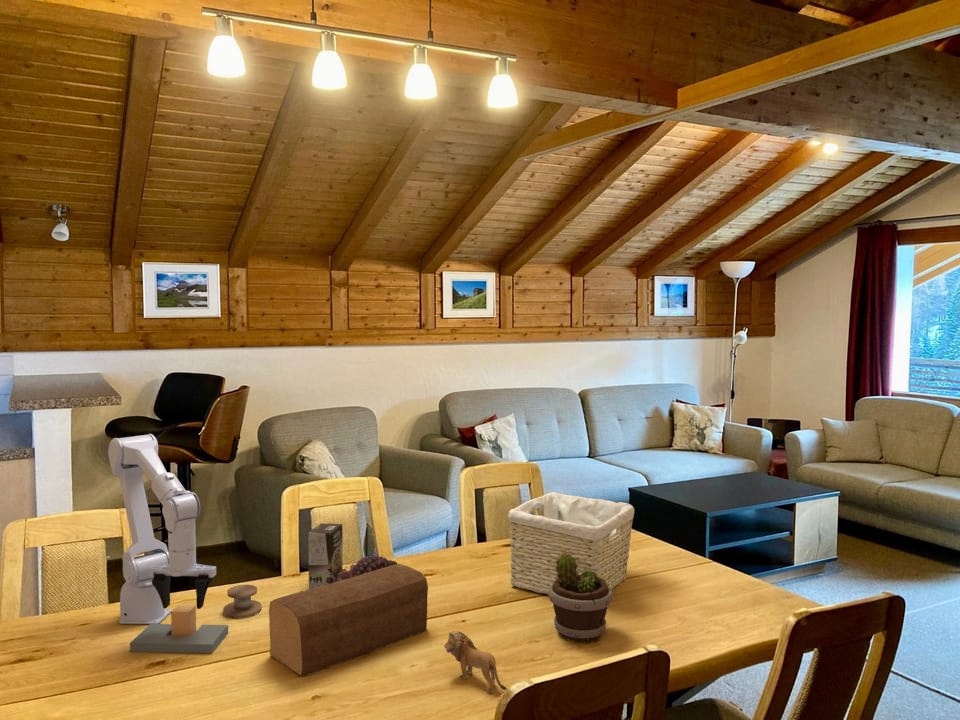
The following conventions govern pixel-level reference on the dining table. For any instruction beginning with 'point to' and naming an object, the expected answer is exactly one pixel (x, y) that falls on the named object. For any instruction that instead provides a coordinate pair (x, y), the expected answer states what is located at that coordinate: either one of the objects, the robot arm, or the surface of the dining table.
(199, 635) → the notched board
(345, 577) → the purple lumpy cluster
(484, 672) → the lion figurine
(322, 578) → the coffee box
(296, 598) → the bread
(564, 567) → the flowerpot
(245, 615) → the spool post
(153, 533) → the robot arm
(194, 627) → the copper block
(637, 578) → the dining table surface
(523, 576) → the basket
